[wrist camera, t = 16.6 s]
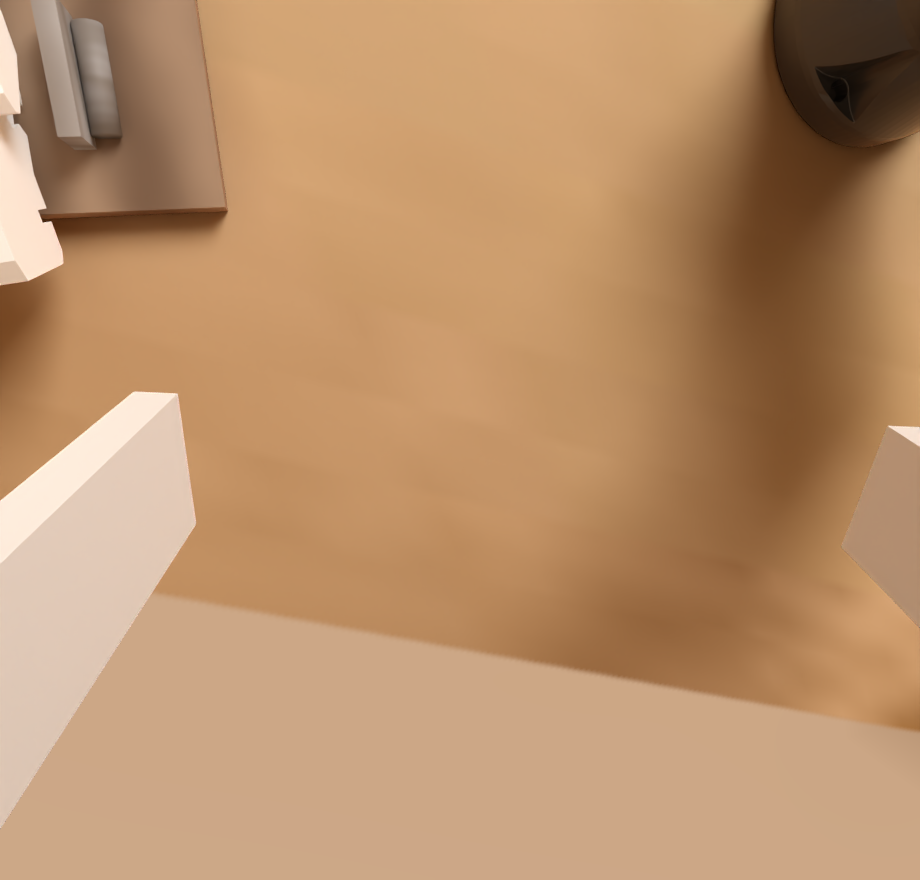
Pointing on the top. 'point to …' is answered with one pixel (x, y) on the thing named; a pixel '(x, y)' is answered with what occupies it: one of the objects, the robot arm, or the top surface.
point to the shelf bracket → (19, 187)
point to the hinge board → (116, 106)
